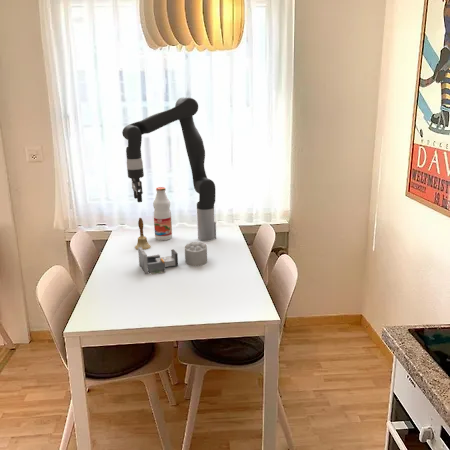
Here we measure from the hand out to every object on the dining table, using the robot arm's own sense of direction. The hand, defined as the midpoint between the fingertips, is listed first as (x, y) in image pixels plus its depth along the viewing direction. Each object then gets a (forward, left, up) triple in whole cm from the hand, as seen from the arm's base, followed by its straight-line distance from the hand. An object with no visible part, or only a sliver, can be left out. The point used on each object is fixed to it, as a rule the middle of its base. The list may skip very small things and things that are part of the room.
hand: (138, 200), depth 244 cm
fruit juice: (-16, -17, -27) cm, 35 cm away
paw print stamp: (-21, +25, -27) cm, 42 cm away
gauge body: (+1, +26, -27) cm, 37 cm away
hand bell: (-2, -6, -27) cm, 28 cm away
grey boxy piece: (-6, +27, -26) cm, 38 cm away
